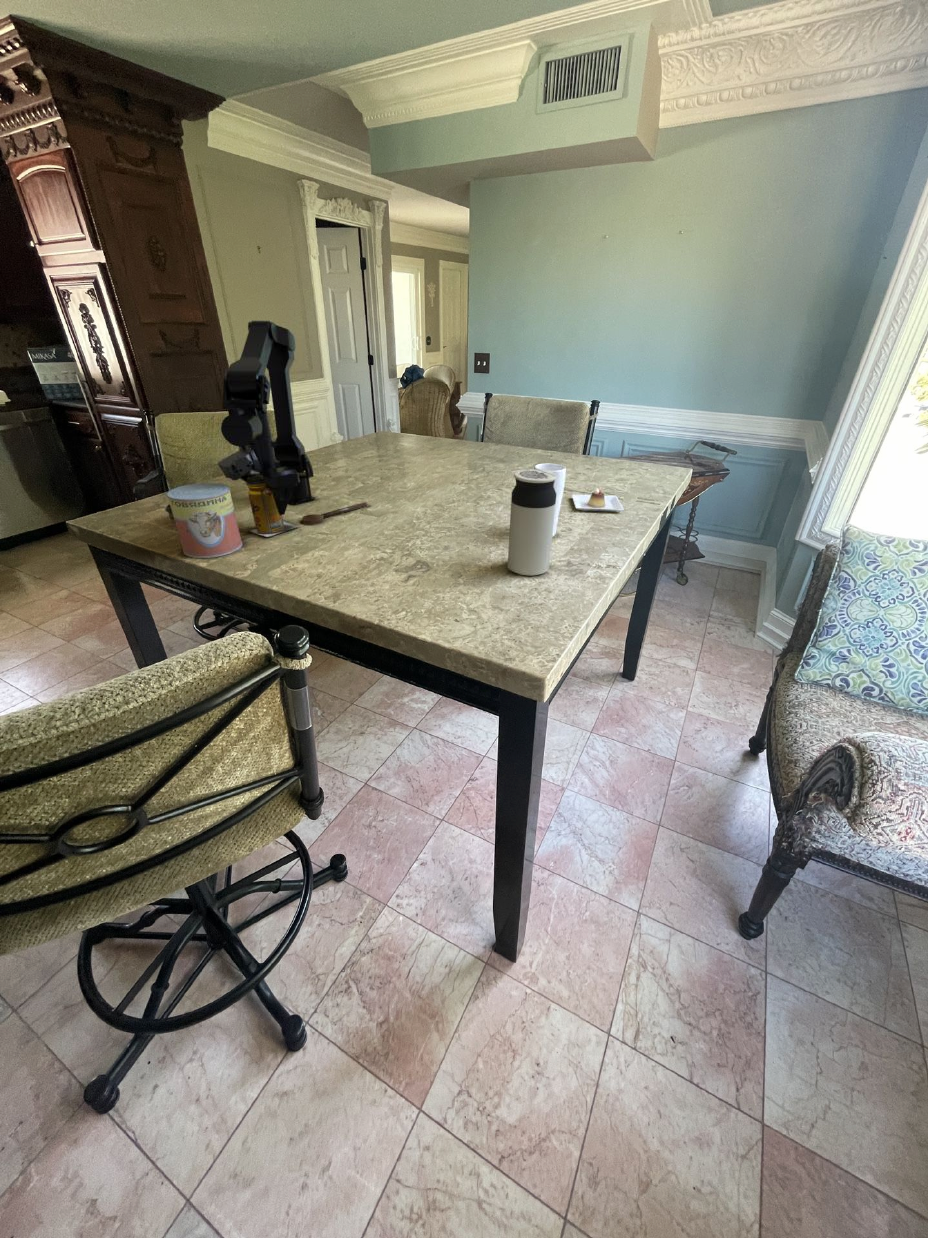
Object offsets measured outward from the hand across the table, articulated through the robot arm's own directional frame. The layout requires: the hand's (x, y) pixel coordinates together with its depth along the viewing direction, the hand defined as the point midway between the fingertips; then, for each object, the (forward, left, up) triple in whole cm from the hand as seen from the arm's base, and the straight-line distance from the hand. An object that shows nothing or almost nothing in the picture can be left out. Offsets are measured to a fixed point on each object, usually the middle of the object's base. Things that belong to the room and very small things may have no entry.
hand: (271, 510), depth 111 cm
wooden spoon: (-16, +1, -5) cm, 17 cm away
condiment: (0, 0, -5) cm, 5 cm away
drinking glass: (-40, +46, -5) cm, 61 cm away
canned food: (+14, 0, -5) cm, 15 cm away
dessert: (-67, +44, -5) cm, 80 cm away
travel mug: (-23, +54, -5) cm, 59 cm away
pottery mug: (+9, -19, -5) cm, 22 cm away
